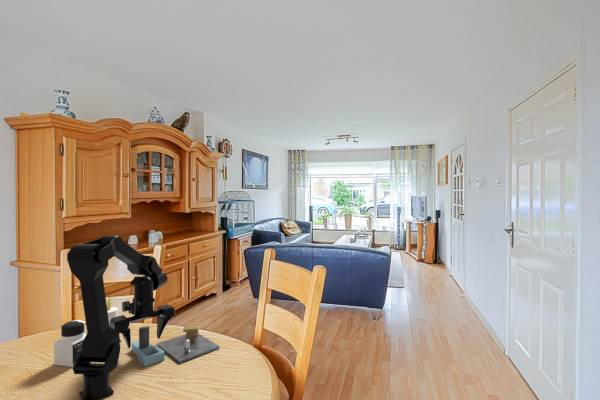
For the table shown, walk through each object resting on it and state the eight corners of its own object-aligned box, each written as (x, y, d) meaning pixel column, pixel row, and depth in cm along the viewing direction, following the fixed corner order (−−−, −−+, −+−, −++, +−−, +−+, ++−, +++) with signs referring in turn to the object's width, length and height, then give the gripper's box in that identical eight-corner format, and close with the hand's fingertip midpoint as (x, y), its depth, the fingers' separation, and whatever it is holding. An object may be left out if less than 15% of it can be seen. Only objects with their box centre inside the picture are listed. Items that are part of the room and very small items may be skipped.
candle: (93, 341, 115) (92, 299, 115) (110, 334, 121) (110, 294, 120) (104, 344, 112) (104, 301, 112) (122, 337, 118) (121, 296, 118)
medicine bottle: (73, 367, 97) (72, 327, 97) (53, 365, 99) (53, 326, 99) (92, 356, 104) (92, 319, 104) (74, 353, 106) (73, 317, 106)
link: (164, 359, 102) (164, 332, 102) (144, 366, 98) (144, 339, 98) (147, 345, 112) (146, 320, 112) (128, 351, 107) (128, 326, 107)
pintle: (190, 354, 105) (190, 340, 105) (186, 355, 104) (185, 341, 104) (188, 352, 106) (188, 338, 106) (183, 354, 105) (183, 340, 105)
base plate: (219, 348, 110) (219, 333, 109) (179, 363, 99) (179, 348, 99) (194, 333, 121) (194, 320, 121) (156, 346, 111) (156, 332, 111)
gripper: (161, 284, 118) (162, 327, 118) (103, 296, 104) (104, 344, 105) (175, 291, 110) (176, 336, 110) (115, 304, 97) (115, 356, 97)
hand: (144, 342), depth 106 cm, fingers open, 9 cm apart
